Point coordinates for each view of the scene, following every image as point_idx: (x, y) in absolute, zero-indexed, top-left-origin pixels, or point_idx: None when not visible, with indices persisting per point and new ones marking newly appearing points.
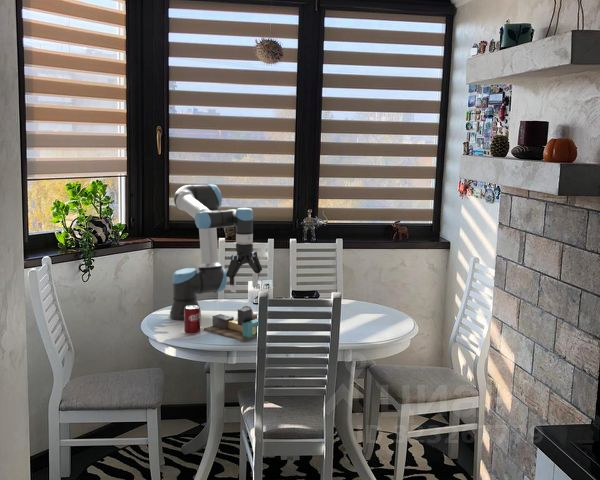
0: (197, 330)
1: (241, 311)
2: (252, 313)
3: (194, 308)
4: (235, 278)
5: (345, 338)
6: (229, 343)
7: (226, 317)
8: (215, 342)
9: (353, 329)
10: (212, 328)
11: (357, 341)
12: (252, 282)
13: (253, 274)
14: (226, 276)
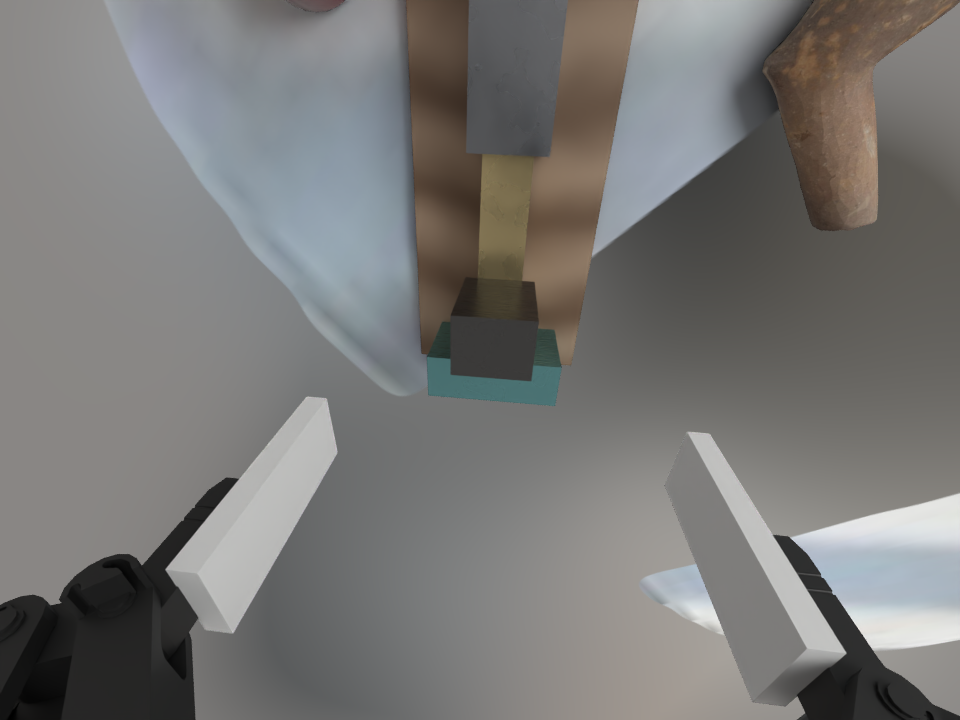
0: (307, 7)
1: (451, 349)
2: (886, 54)
3: None
4: (225, 624)
5: (691, 566)
6: (358, 312)
7: (514, 108)
8: (315, 250)
9: (825, 549)
10: (441, 32)
11: (675, 595)
12: (710, 471)
13: (771, 620)
14: (19, 598)
